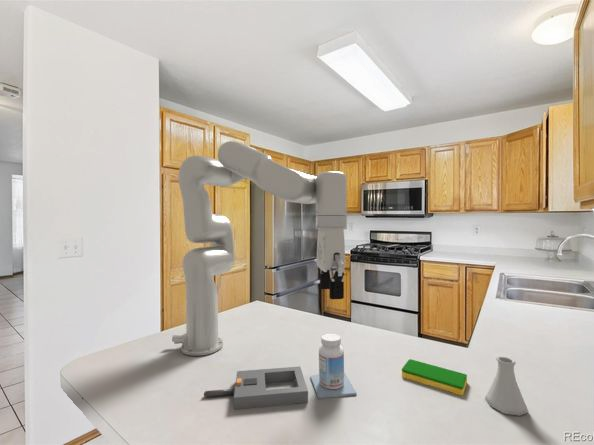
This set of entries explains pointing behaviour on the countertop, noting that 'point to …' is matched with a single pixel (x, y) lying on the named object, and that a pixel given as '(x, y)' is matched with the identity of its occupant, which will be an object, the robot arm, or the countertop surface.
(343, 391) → the slate mat
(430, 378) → the dish sponge
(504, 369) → the flask
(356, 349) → the countertop surface
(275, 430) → the countertop surface
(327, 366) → the pill bottle
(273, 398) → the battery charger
